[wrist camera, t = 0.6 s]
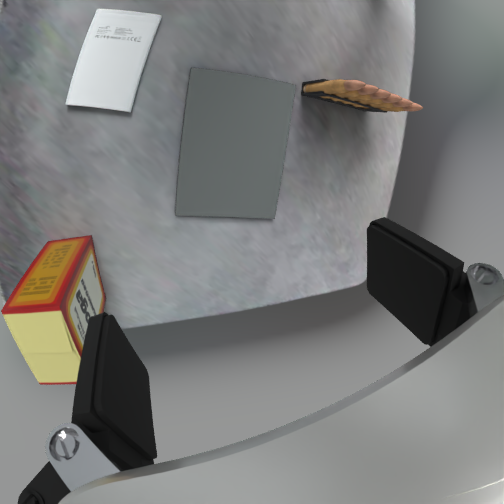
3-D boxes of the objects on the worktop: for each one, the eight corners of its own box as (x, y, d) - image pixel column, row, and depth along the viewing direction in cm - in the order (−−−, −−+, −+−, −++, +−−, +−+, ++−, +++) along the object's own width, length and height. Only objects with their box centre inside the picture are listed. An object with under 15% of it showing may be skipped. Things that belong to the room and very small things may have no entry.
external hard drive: (68, 105, 26) (99, 12, 22) (131, 112, 29) (161, 19, 25) (64, 104, 25) (96, 7, 21) (129, 112, 28) (162, 14, 24)
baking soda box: (106, 298, 37) (92, 386, 24) (65, 302, 36) (39, 386, 22) (91, 235, 33) (58, 308, 20) (47, 241, 32) (-1, 313, 18)
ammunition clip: (300, 95, 34) (356, 90, 23) (302, 81, 33) (358, 73, 23) (365, 111, 37) (426, 117, 27) (366, 99, 36) (428, 102, 26)
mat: (190, 68, 29) (191, 67, 28) (293, 85, 33) (296, 84, 32) (175, 214, 36) (175, 215, 35) (273, 217, 40) (274, 218, 39)
